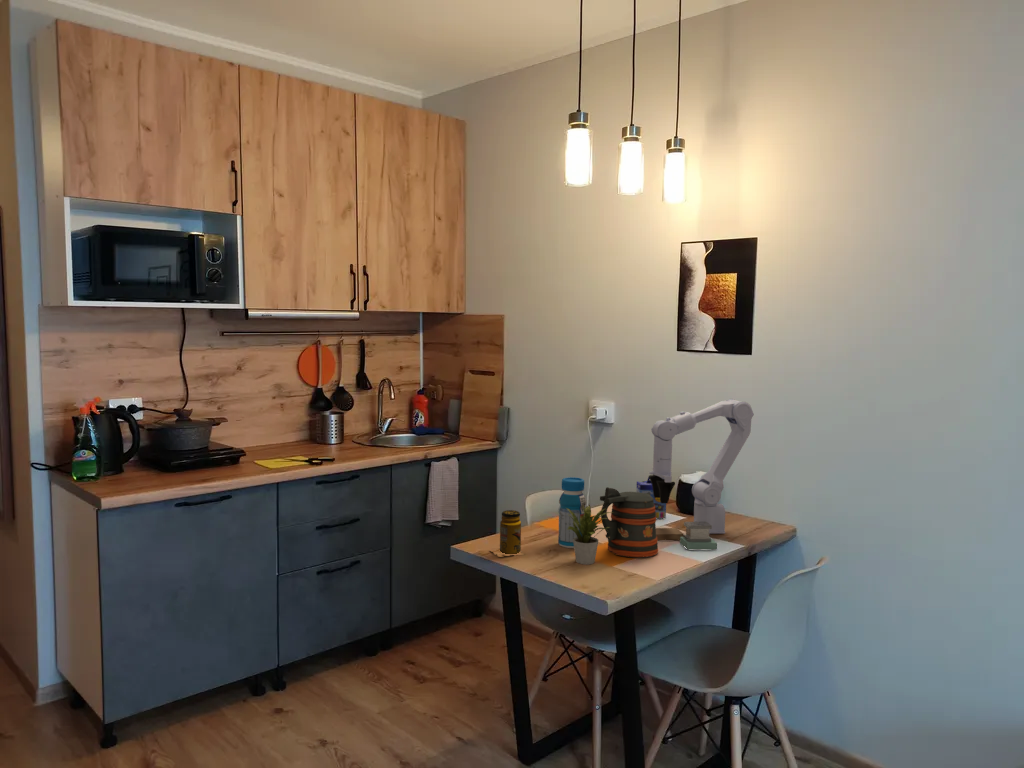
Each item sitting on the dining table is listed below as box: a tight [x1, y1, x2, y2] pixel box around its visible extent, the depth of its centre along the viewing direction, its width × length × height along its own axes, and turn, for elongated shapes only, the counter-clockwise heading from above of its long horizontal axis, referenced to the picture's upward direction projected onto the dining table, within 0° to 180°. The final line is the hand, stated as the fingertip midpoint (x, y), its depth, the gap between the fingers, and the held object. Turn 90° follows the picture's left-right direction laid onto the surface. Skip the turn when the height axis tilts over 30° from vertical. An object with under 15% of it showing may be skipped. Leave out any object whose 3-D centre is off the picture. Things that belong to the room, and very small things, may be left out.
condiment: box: [499, 509, 522, 554], centre depth 214 cm, size 7×8×12 cm
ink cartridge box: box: [635, 476, 667, 519], centre depth 258 cm, size 10×6×14 cm, turn 96°
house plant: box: [566, 504, 614, 566], centre depth 206 cm, size 14×14×16 cm
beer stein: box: [599, 487, 659, 559], centre depth 216 cm, size 19×15×20 cm
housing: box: [683, 521, 712, 542], centre depth 223 cm, size 7×4×5 cm, turn 95°
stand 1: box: [656, 527, 685, 541], centre depth 233 cm, size 9×7×2 cm
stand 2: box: [679, 537, 718, 550], centre depth 224 cm, size 9×7×2 cm
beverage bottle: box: [557, 476, 587, 549], centre depth 223 cm, size 8×8×20 cm
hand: (660, 500), depth 238 cm, fingers open, 7 cm apart
